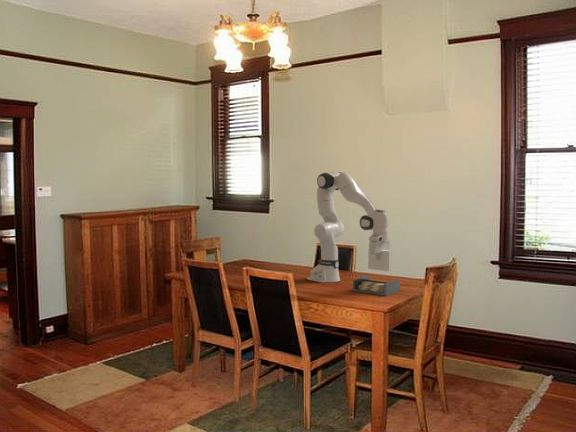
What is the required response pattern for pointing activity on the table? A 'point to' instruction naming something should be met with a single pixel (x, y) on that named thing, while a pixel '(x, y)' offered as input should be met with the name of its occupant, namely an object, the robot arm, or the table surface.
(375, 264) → the cream slab
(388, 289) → the rack
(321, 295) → the table surface
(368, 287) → the offcut stack
